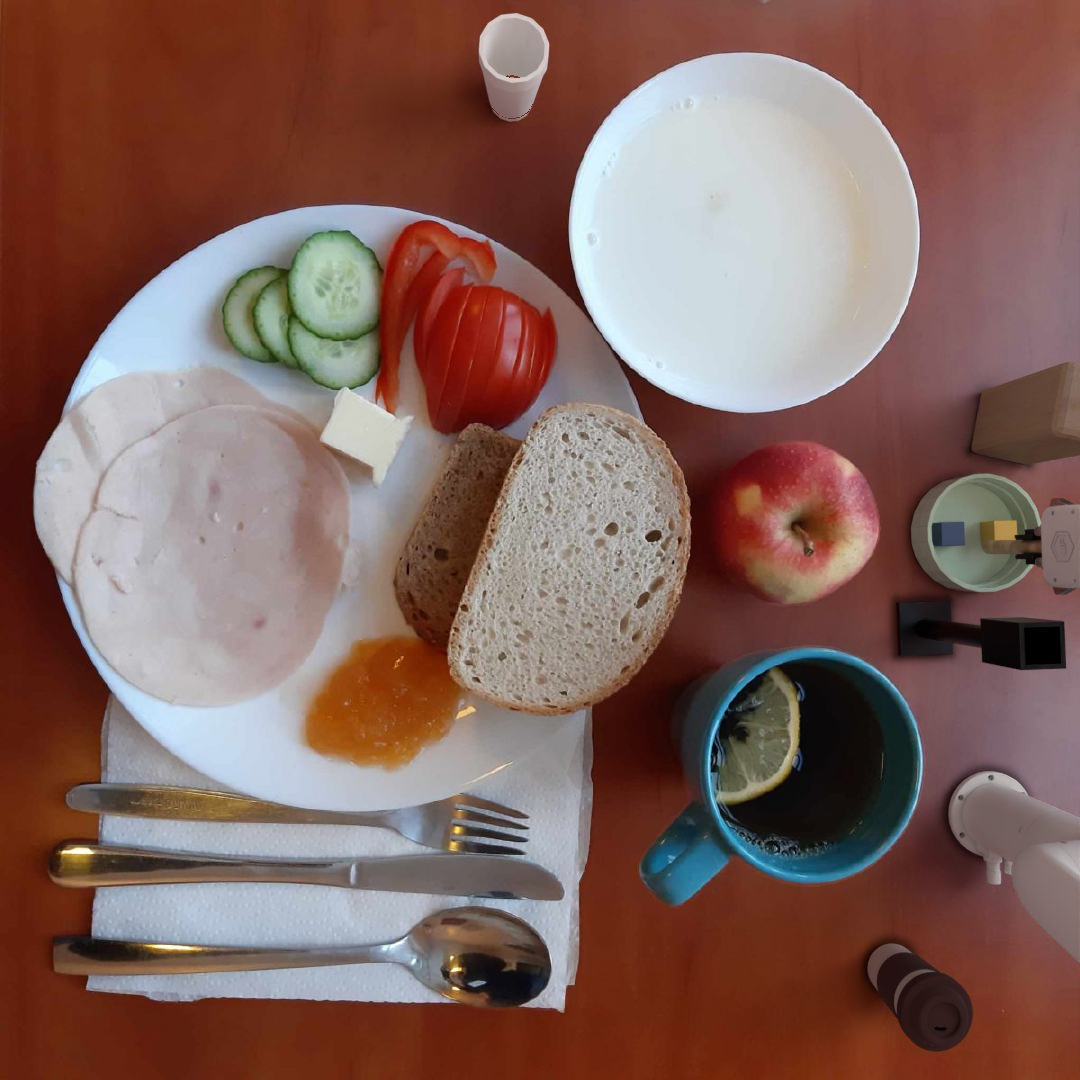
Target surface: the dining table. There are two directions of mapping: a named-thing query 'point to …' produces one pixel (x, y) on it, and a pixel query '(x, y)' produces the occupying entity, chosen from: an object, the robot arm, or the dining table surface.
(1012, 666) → the holder
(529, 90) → the foam cup
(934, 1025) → the coffee cup
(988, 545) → the stick
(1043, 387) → the wooden block
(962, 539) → the navy block
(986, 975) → the dining table surface
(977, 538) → the bowl
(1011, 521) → the mustard block
